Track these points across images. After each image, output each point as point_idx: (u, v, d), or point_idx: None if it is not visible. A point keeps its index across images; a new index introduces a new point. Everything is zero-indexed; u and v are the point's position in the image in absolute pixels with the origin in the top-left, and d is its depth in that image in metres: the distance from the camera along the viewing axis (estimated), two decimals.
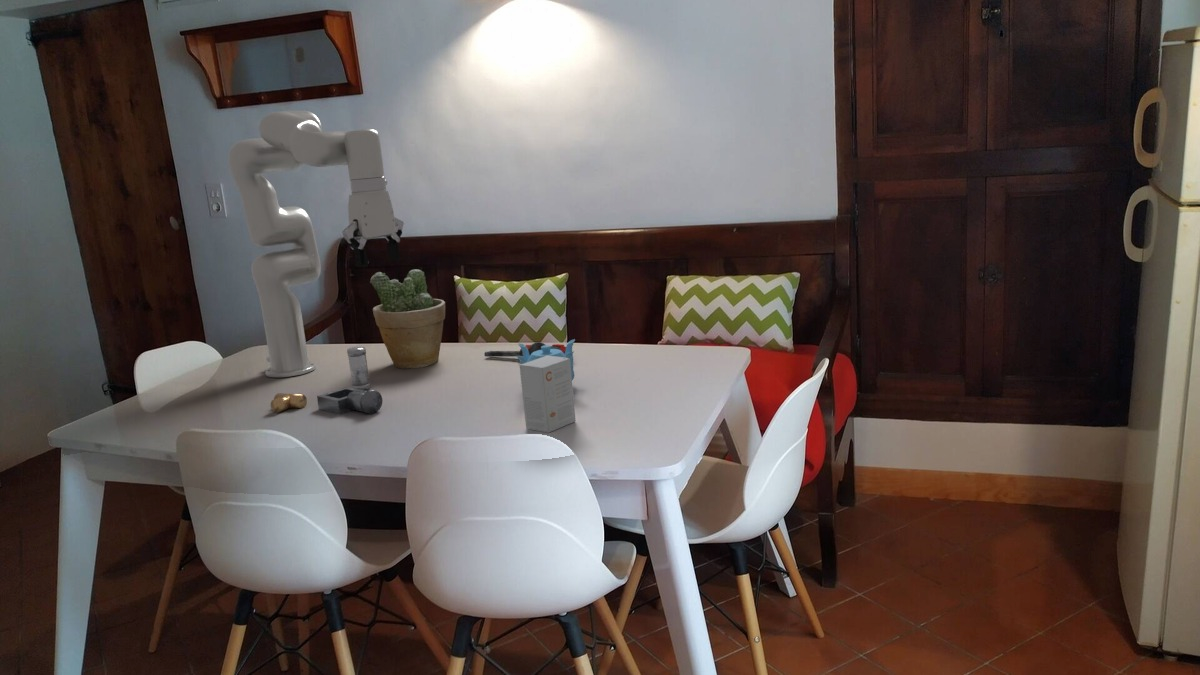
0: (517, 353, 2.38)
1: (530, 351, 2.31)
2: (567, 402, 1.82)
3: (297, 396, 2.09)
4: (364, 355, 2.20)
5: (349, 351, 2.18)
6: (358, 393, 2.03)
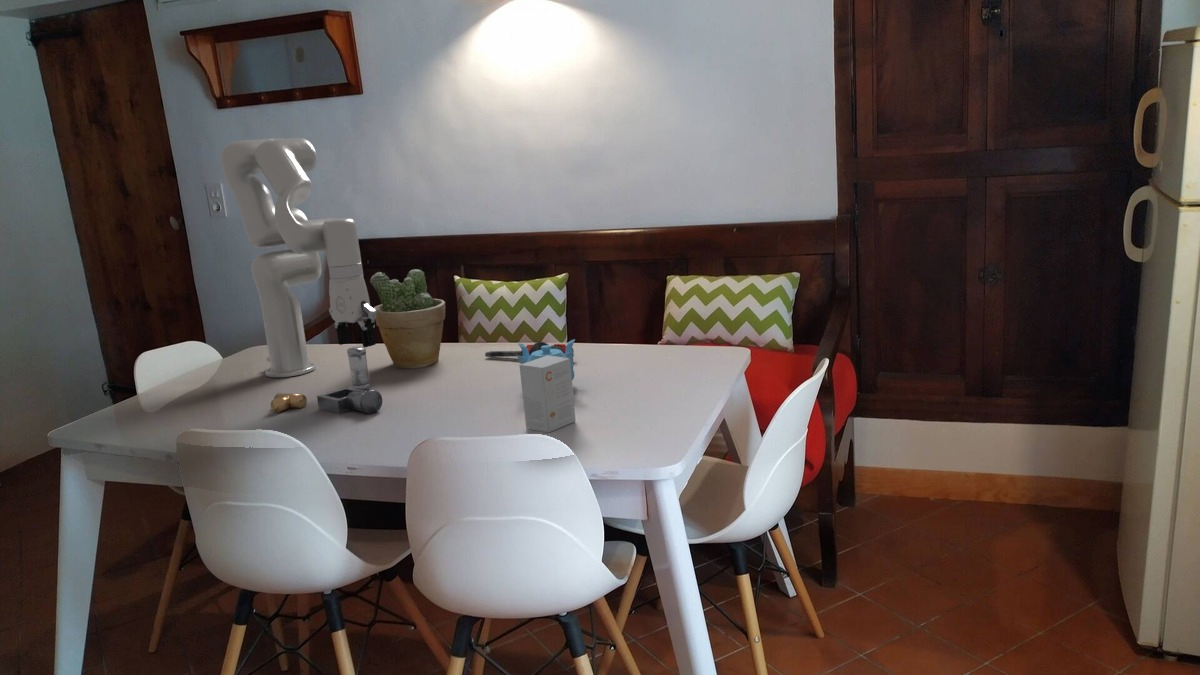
0: (518, 353, 2.38)
1: (532, 351, 2.31)
2: (567, 402, 1.82)
3: (297, 396, 2.09)
4: (364, 355, 2.20)
5: (349, 351, 2.18)
6: (358, 393, 2.03)
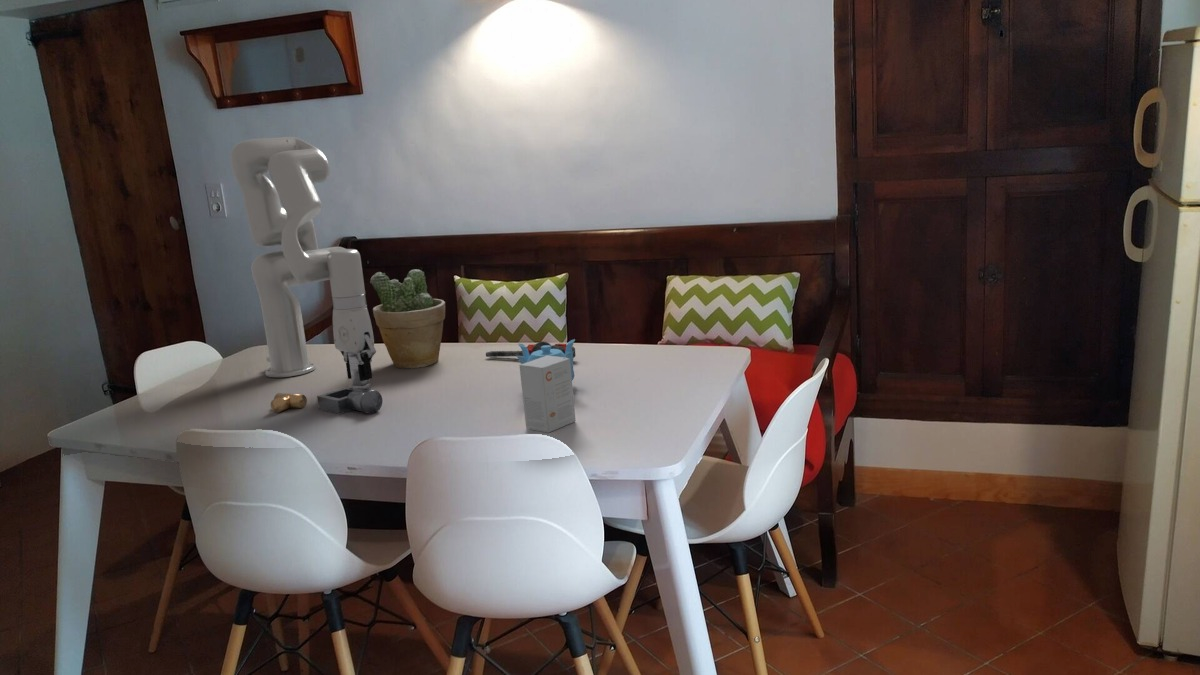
0: (520, 353, 2.38)
1: (534, 350, 2.31)
2: (567, 402, 1.82)
3: (297, 396, 2.09)
4: None
5: None
6: (358, 393, 2.03)
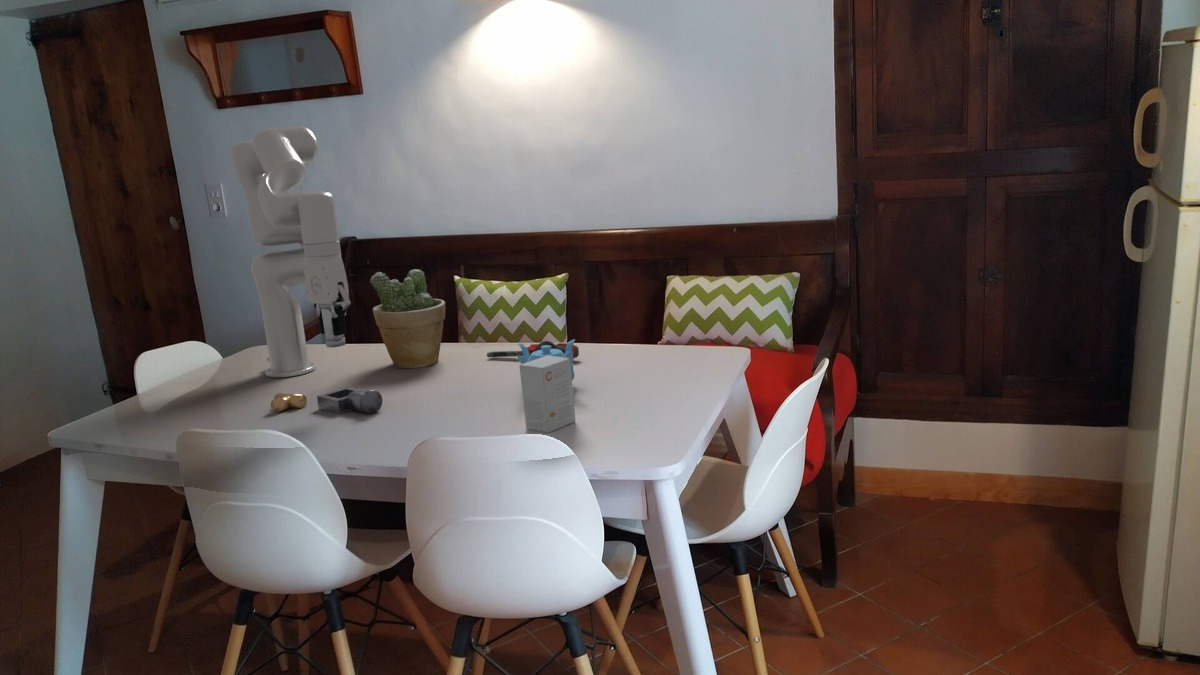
0: (522, 353, 2.38)
1: (537, 350, 2.31)
2: (567, 402, 1.82)
3: (297, 396, 2.09)
4: None
5: None
6: (358, 393, 2.03)
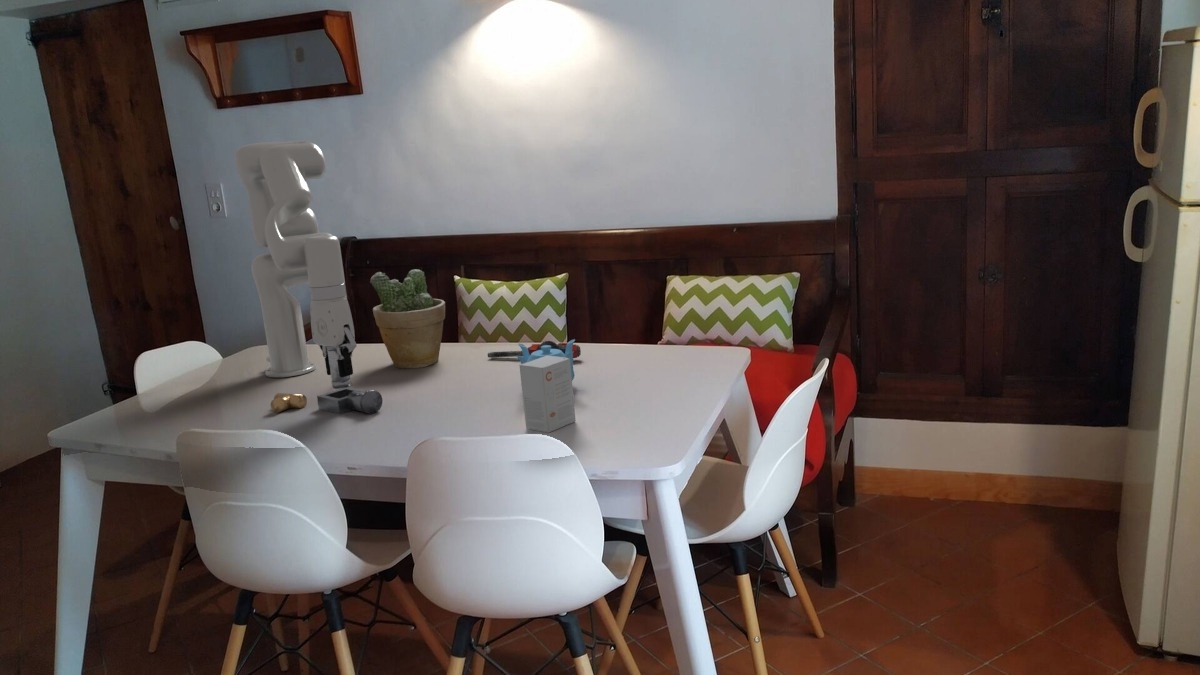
0: None
1: None
2: (567, 402, 1.82)
3: (297, 396, 2.09)
4: None
5: None
6: (358, 393, 2.03)
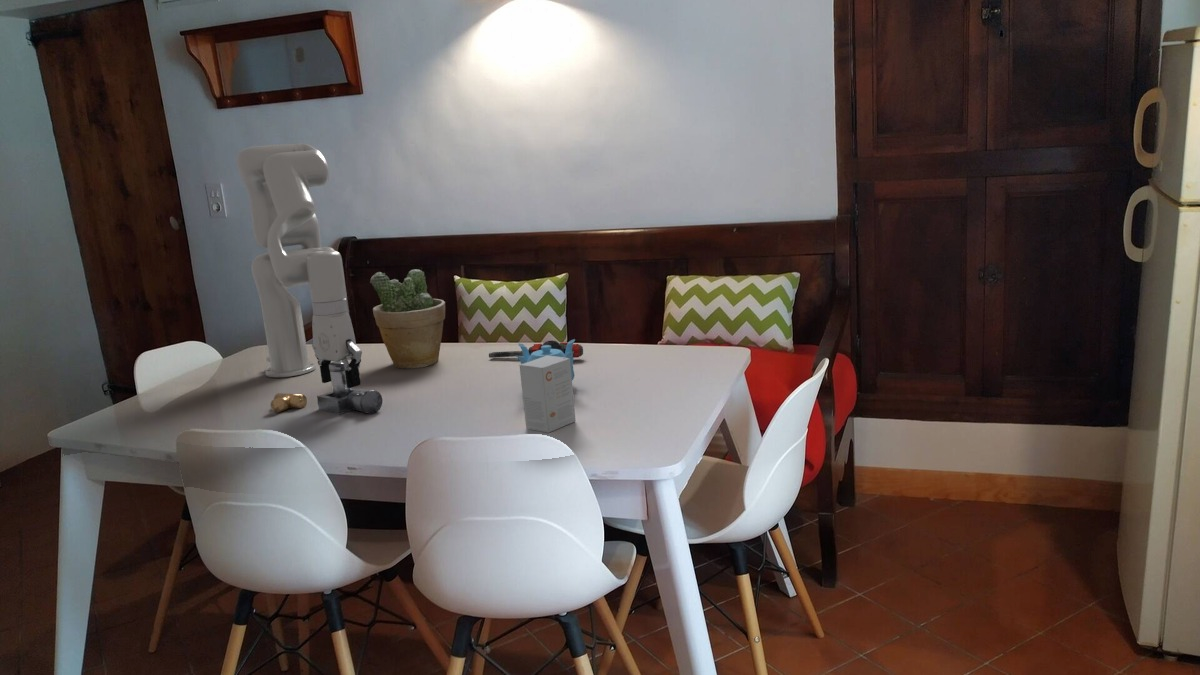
0: None
1: None
2: (567, 402, 1.82)
3: (297, 396, 2.09)
4: None
5: (331, 366, 2.04)
6: (358, 393, 2.03)
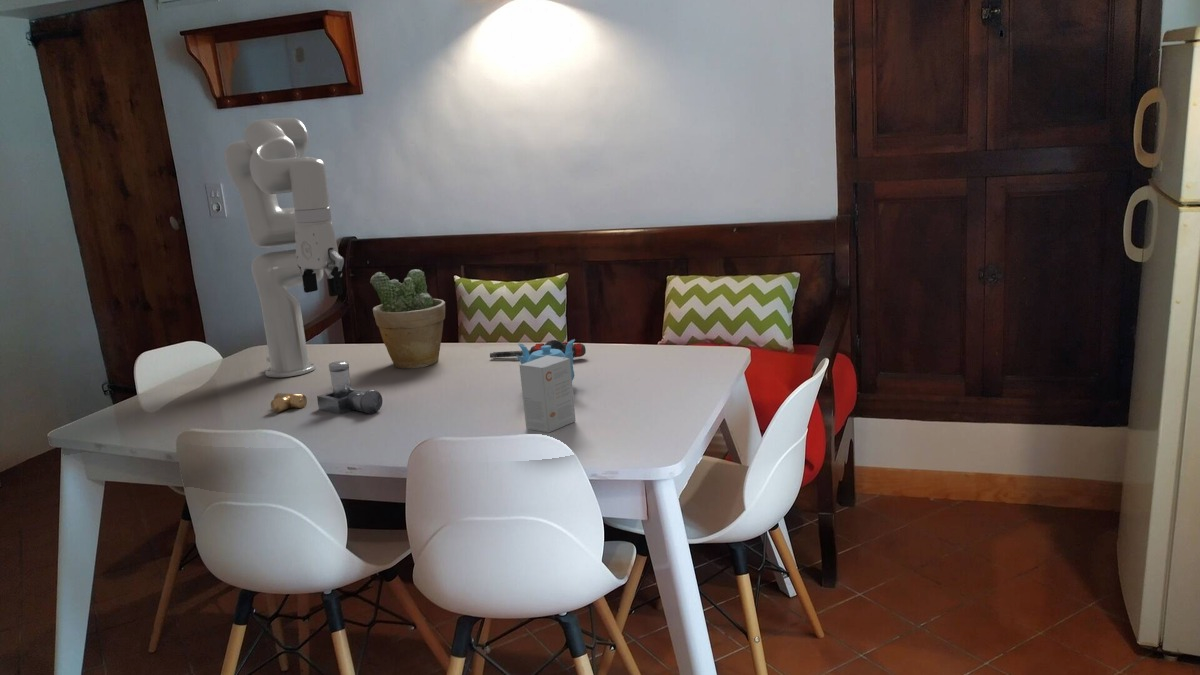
0: None
1: None
2: (567, 402, 1.82)
3: (297, 396, 2.09)
4: (347, 370, 2.06)
5: (331, 366, 2.04)
6: (358, 393, 2.03)
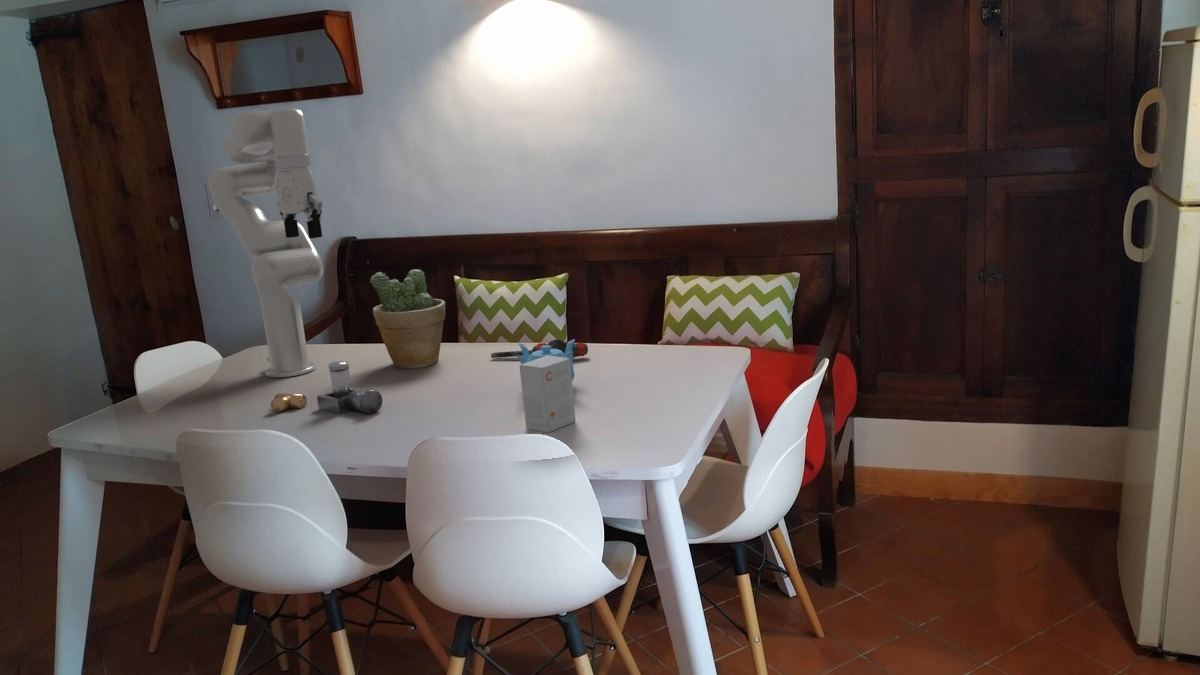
0: None
1: None
2: (567, 402, 1.82)
3: (297, 396, 2.09)
4: (347, 370, 2.06)
5: (331, 366, 2.04)
6: (358, 393, 2.03)
